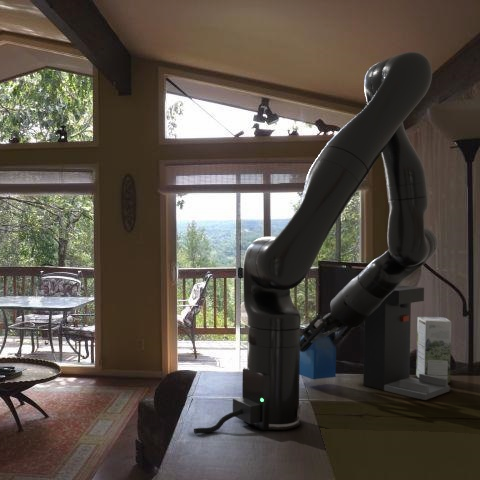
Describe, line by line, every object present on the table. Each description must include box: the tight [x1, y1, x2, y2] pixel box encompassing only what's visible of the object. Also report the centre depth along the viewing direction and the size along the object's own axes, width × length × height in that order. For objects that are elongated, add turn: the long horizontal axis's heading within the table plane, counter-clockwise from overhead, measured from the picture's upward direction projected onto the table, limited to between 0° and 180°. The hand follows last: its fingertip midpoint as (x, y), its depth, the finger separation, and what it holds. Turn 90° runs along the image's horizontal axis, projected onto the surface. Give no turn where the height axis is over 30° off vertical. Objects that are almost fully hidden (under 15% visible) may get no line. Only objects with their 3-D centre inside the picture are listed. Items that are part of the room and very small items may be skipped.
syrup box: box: [415, 316, 453, 384], centre depth 134 cm, size 6×6×14 cm
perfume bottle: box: [299, 319, 337, 380], centre depth 128 cm, size 6×6×12 cm
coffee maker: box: [362, 285, 451, 401], centre depth 126 cm, size 11×14×22 cm
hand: (310, 346), depth 129 cm, fingers closed on perfume bottle, 7 cm apart
